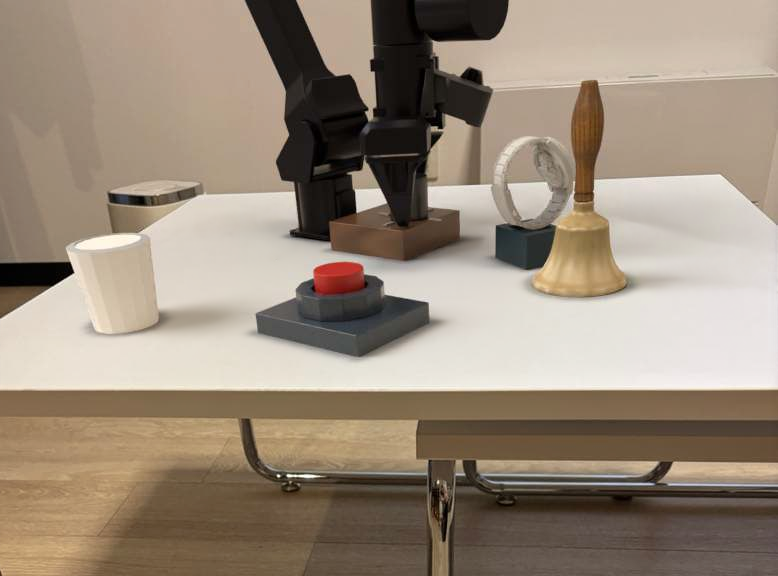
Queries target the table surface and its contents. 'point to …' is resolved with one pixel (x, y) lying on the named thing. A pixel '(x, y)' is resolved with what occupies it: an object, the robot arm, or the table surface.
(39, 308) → the table surface
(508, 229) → the watch
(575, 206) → the hand bell
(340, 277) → the button
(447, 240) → the dial panel
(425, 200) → the dial
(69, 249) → the white cup
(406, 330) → the button box
